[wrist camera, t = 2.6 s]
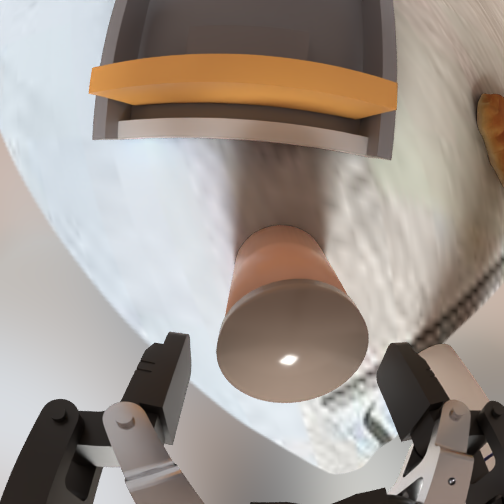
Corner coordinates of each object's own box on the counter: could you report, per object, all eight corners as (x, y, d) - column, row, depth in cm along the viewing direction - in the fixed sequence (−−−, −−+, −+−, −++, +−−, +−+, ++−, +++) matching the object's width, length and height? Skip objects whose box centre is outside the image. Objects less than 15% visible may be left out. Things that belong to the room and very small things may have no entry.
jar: (236, 219, 16) (217, 282, 9) (333, 228, 16) (387, 294, 9) (231, 304, 18) (216, 398, 11) (316, 310, 18) (344, 401, 11)
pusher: (144, 42, 12) (105, 11, 7) (358, 54, 12) (395, 24, 7) (135, 105, 13) (88, 93, 8) (355, 119, 13) (396, 109, 9)
